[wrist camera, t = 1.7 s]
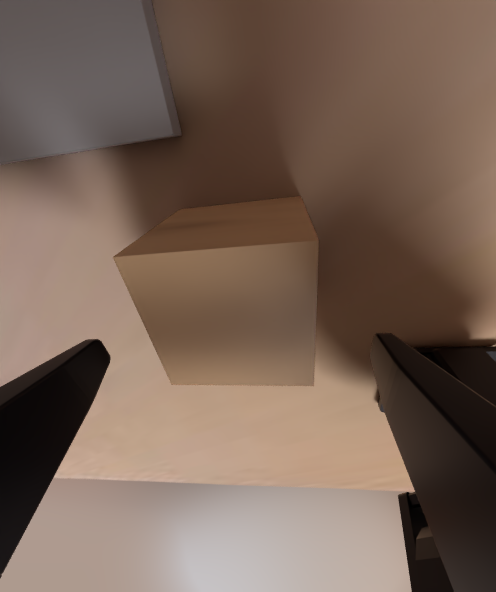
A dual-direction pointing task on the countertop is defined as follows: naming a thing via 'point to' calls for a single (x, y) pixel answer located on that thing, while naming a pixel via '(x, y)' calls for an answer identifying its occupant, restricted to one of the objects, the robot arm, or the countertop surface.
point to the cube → (229, 293)
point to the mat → (81, 77)
